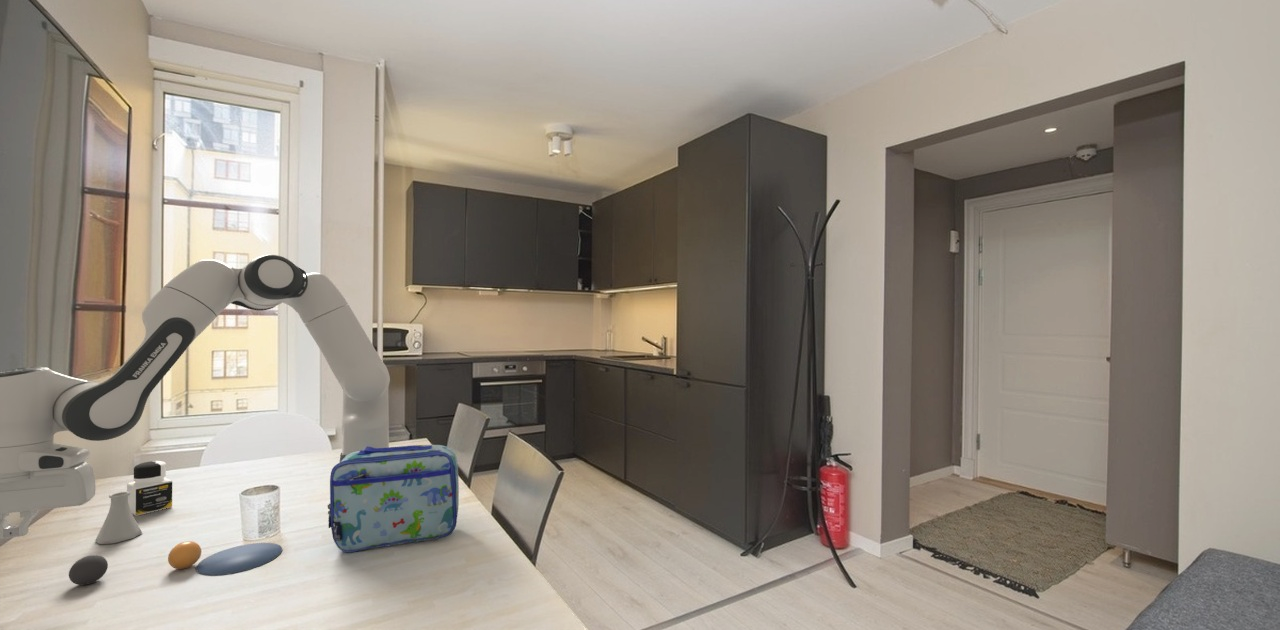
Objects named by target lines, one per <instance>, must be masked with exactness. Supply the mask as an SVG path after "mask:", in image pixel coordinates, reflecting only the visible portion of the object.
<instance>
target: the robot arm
mask: <svg viewBox="0 0 1280 630" xmlns="http://www.w3.org/2000/svg"><path fill="white" fill-rule="evenodd" d="M282 303H283V304H286V305H288V306H289V307H291V308H292V309H293V310H294V311H295V312H296V313H297V314H298V316H299V318H300V319H301V321H302V323H303V324H304V326H305V327H306V329H307V330H308V332H309V334H310V335H311V338H313V340H314V341H315V343H316V345H317V346H318V348H319V350H320V352H321V353H322V355H323V357H324V358H325V361H326V362H327V364H328V366H329V368H330V370H331V372H332V373H333V375H334V377H335V379H336V380H337V382H338V384H339V386H340V387H341V390H342V418H341V419H342V420H341V421H342V423H341V424H342V427H341V431H342V432H341V452H340V455H339V463H340V462H341V461H342V460H343V458H344V457H345V456H347V455H348V454H350V453H353V452H356V451H361V450H365V448H366V447H367V446H369V447H373V448H388V447H390V442H389V441H390V438H389V437H390V415H389V413H390V409H389V407H390V406H389V405H390V404H389V386H390V382H391V378H390V377H391V376H390V372H389V370H388V367H387V365H386V364H385V363H384V362H383V360H382V359H381V357H380V355H379V353H378V352H377V350H376V348H375V347H374V345H373V343H372V342H371V340H370V338H369V337H368V335H367V333H366V332H365V330H364V328H363V326H362V325H361V323H360V321H359V319H358V318H357V316H356V315H355V313H354V311H353V310H352V307H350V305H349V303H348V301H347V300H346V298H345V297H344V295H342V293H341V292H340V290H339V288H337V287H336V285H335V284H334V283H333V281H332V280H330V278H329V277H328V276H327V275H325V274H323V273H319V272H310V273H307V272H306V271H305V270H304V269H302V268H300V267H299V266H298V265H296V264H294V262H292V261H290V259H289V258H286V257H284V256H281V255H277V254H265V255H260V256H257V257H255V258H253V259H252V260H251V261H250V262H248V263H247V264H246V265H245V266H243V268H234V267H231V266H230V265H228V264H226V263H225V262H223V261H220V260H217V259H211V258H209V259H208V258H205V259H200V260H198V261H196V262H195V263H193V264H191V265H189V266H188V267H187V268H186V269H183V270H182V271H181V272H180V273H178V274H177V275H176V276H174V277H173V278H172V279H171V280H169V282H167V283H166V284H165V285H164V286H163V287H162V288H161V289H160V290H159V291H158V292H157V293H156V294H155V295H154V296H153V297H152V298H151V299H150V301H149V302H148V303H147V305H146V306H145V308H144V309H143V311H142V314H141V319H142V322H143V323H142V324H143V326H144V328H145V336H144V338H143V341H142V342H141V343H140V345H139V346H138V347H137V349H135V351H133V353H132V354H131V355H130V356H129V357H128V358H127V360H126V361H124V363H123V364H122V365H121V366H120V367H119V369H118V370H116V372H114V373H113V374H112V376H110V377H109V378H107V379H106V380H104V381H102V382H99V381H92V380H87V379H81V378H79V377H78V378H77V377H74V376H69V375H66V374H63V373H60V372H57V371H55V370H52V369H50V368H49V367H46V366H30V367H19V368H15V369H14V368H12V369H9V370H8V369H7V370H3V371H1V372H0V540H2V539H4V540H5V539H10V538H17V537H19V538H20V537H24V536H26V535H28V533H29V526H30V523H31V522H32V521H33V520H34V519H35V517H36V516H37V514H38V513H39V511H40V510H41V511H42V510H49V509H50V510H52V509H58V508H60V509H61V508H68V507H69V508H70V507H71V508H72V507H78V506H79V507H80V506H83V505H84V504H86V503H88V502H89V501H91V500H92V499H93V498H94V497H95V496H96V490H97V489H96V476H95V471H94V467H93V466H92V465H91V464H90V463H89V462H86V461H87V460H88V459H89V458H90V450H89V449H87V448H83V447H78V446H72V445H65V444H60V443H56V442H54V436H55V434H57V433H58V432H59V433H60V432H66V431H68V432H70V433H72V434H74V436H76V437H78V438H80V439H83V440H86V441H93V442H94V441H95V442H96V441H98V442H99V441H100V442H103V441H108V440H112V439H115V438H118V437H120V436H122V435H125V434H126V433H128V432H129V431H131V430H132V429H133V428H134V427H135V426H136V425H137V424H138V422H139V421H140V420H141V417H142V416H143V413H144V410H145V407H146V404H147V402H148V399H149V397H150V395H151V393H152V392H153V390H154V389H155V387H157V385H158V384H159V383H161V381H162V380H163V378H164V377H165V376H166V375H167V373H168V372H169V371H170V370H171V369H172V367H173V366H174V365H175V363H177V361H178V360H179V359H180V358H181V356H182V355H183V354H184V352H186V350H187V349H188V347H189V346H190V345H191V344H192V343H193V342H194V341H195V340H196V339H197V338H198V336H200V335H201V334H202V333H203V331H206V329H207V327H209V326H210V324H212V323H213V322H214V320H215V319H216V318H217V317H218V316H220V314H221V313H222V312H223V311H224V310H225V309H226V308H227V307H228V306H229V305H230V304H231V305H235V306H239V307H242V308H244V309H245V308H246V309H247V310H248V309H249V310H252V311H256V312H257V311H261V312H262V311H267V310H268V311H269V310H271V309H274V308H276V307H277V306H278V305H281V304H282ZM10 513H11V514H13V513H19V517H20V518H23V519H22V520H21V521H20V523H19V524H11V522H9V520H8V519H7V518H6V517H8V516H10Z"/></svg>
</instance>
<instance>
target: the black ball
mask: <svg viewBox="0 0 1280 630" xmlns="http://www.w3.org/2000/svg"><path fill="white" fill-rule="evenodd" d="M108 566H109V563H108V561H107V559H106V558H105V557H103V556H101V555H98V554H92V555H91V554H90V555H87V556H84V557H82V558H80V559H78V560H77V561H76V562H74V563H73V564H72V565H71V567H70V568H69V572H68V578H69V581H71V583H73V584H75V585H78V586H85V585H90V584H94V583H95V582H97V581H99V580H100V579H102V577H103V576H104V575H105V574H106V572H107V570H108Z"/></svg>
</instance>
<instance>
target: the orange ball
mask: <svg viewBox="0 0 1280 630" xmlns="http://www.w3.org/2000/svg"><path fill="white" fill-rule="evenodd" d="M201 556H202V547H201V545H200V544H199V543H197V542H195V541H193V540H192V541H190V540H189V541H188V540H187V541H183V542H180V543H178V544H176V545H175V546H174V547H173V548H172V549H171V550H170V551H169V553H168V556H167V562H168V565H170V567H171V568H174V569H176V570H184V569H187V568H190V567H192V566H193V565H195V564H196V563H197V562H198V561H199V559H200V558H201Z"/></svg>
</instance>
